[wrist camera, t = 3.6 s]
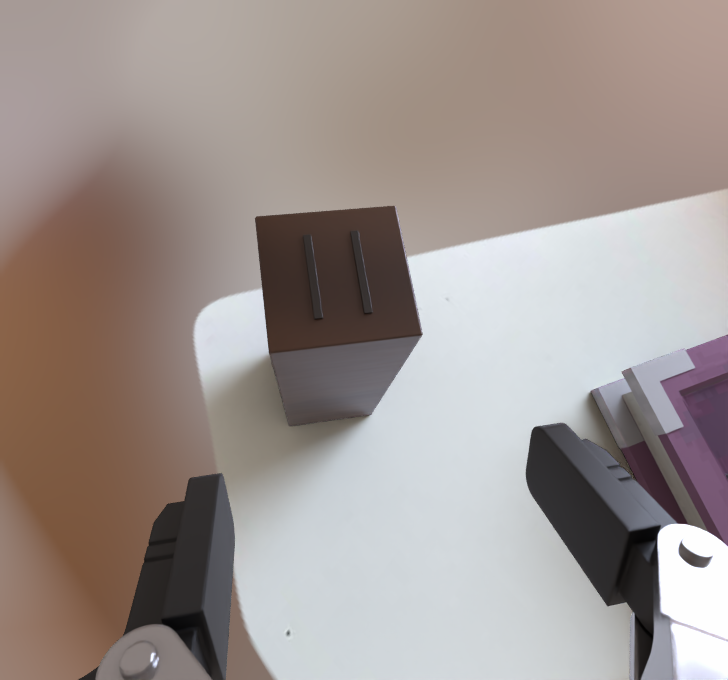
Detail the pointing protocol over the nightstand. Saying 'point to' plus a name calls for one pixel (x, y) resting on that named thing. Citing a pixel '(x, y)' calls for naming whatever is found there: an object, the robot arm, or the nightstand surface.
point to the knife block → (336, 309)
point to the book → (676, 431)
